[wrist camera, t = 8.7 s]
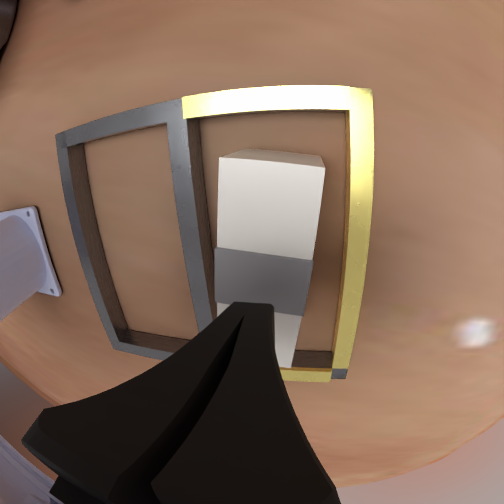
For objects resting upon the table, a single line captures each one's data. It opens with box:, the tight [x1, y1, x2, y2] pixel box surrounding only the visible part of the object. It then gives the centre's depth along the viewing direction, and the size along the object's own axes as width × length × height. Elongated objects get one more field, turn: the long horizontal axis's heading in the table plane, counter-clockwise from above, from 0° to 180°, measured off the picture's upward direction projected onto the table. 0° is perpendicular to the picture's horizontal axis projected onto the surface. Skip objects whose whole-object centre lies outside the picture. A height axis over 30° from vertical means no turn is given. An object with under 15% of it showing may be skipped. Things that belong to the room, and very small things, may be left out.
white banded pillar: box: [215, 148, 325, 368], centre depth 13 cm, size 4×9×5 cm, turn 177°
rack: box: [55, 85, 374, 382], centre depth 15 cm, size 17×16×2 cm
